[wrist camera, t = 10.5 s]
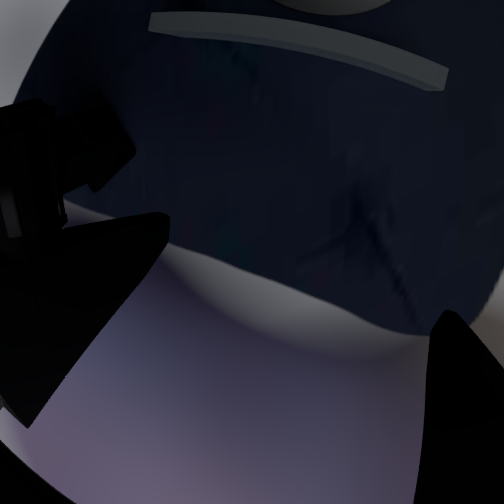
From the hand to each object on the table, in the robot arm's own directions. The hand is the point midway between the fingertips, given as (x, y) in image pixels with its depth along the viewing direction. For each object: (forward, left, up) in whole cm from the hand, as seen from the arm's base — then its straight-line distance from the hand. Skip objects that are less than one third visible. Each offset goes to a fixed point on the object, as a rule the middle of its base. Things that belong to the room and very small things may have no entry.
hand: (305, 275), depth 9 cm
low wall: (+3, +8, -12) cm, 15 cm away
